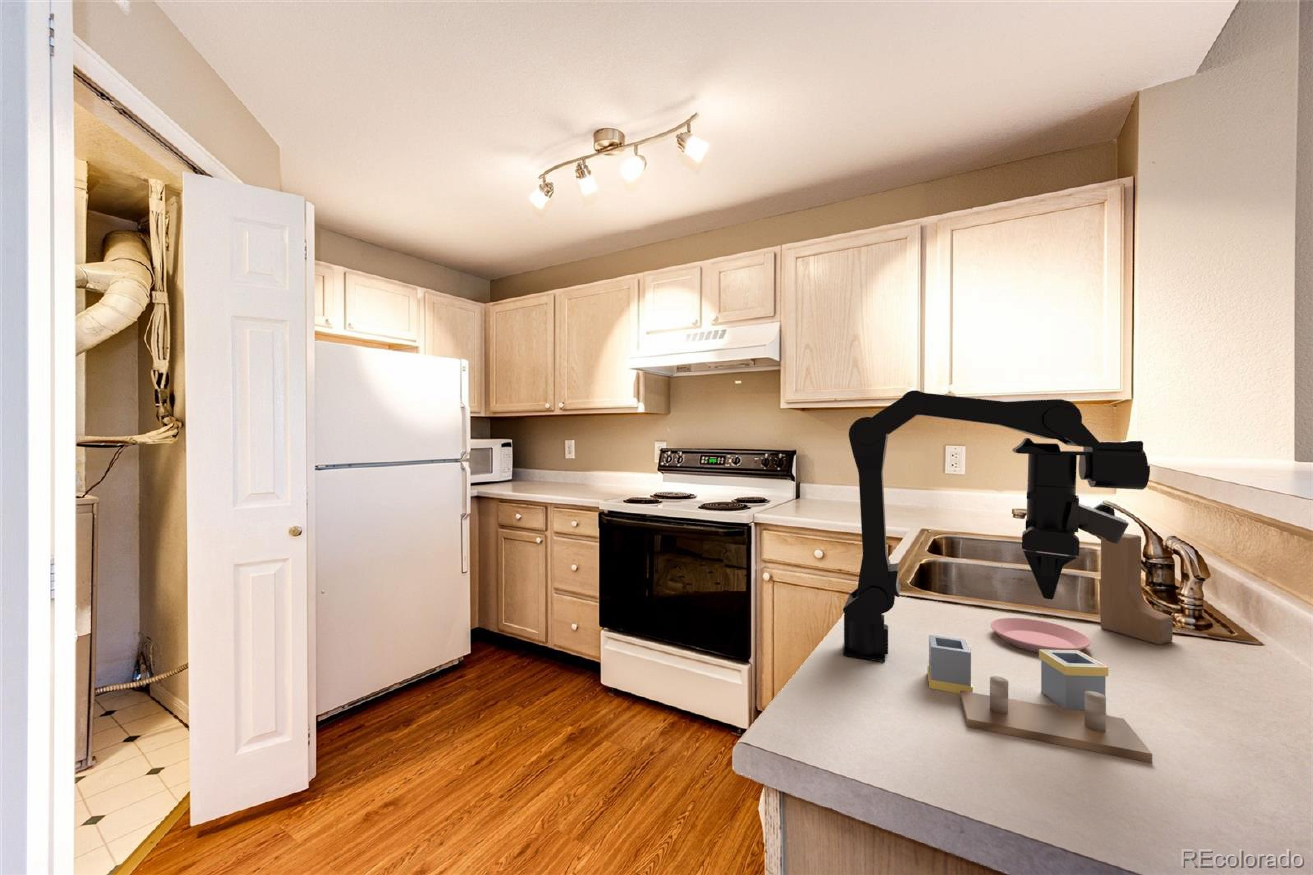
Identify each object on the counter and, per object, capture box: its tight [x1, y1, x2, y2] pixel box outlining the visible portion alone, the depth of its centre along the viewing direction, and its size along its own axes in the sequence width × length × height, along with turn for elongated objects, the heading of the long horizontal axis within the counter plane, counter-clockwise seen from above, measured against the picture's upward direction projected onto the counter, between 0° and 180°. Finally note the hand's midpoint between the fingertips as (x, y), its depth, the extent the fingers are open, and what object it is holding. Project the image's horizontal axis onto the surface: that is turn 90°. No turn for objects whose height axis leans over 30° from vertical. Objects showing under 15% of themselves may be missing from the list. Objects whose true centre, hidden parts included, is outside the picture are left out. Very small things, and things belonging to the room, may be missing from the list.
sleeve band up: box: [1038, 650, 1109, 712], centre depth 73 cm, size 5×5×6 cm
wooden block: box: [1099, 532, 1174, 646], centre depth 96 cm, size 9×4×18 cm, turn 24°
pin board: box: [959, 675, 1153, 764], centre depth 66 cm, size 18×8×5 cm, turn 66°
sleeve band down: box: [926, 634, 974, 694], centre depth 78 cm, size 5×5×6 cm
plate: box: [990, 617, 1091, 654], centre depth 93 cm, size 14×14×2 cm
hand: (1048, 590), depth 78 cm, fingers open, 9 cm apart
